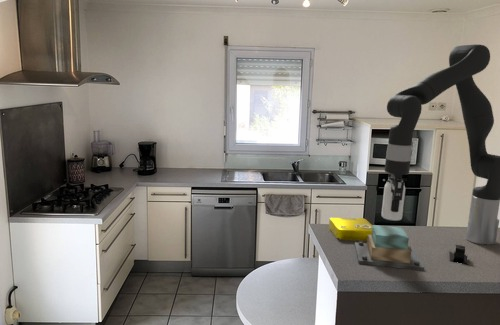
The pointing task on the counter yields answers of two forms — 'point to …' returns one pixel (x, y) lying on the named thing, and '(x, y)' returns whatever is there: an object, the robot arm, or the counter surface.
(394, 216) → the can
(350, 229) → the element tile
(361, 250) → the brick tower
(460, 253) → the black slotted housing
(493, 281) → the counter surface
